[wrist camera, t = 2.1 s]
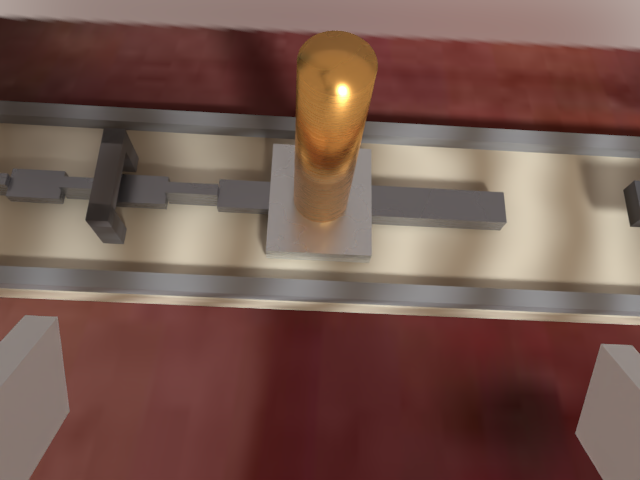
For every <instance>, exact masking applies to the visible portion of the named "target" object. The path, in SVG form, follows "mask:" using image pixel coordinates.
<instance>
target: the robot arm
mask: <svg viewBox="0 0 640 480" xmlns="http://www.w3.org/2000/svg"><path fill="white" fill-rule="evenodd" d="M68 413H69V404H68V396H67V388H66V380H65V372H64V364H63V356H62V348H61V340H60V332H59V324H58V317H49V316H28V315H25V316H24V317H23V318H22V319H21V320H20V321H19V322H18V323H17V324H16V326H15V327H14V328H13V329H12V330H11V331H10V332H9V333H8V334H7V335H6V336H5V337H4V339H3V340H2V341H1V342H0V480H29V478H30V476H31V475H32V473H33V471H34V470H35V468H36V466H37V465H38V463H39V461H40V460H41V458H42V456H43V455H44V453H45V451H46V450H47V448H48V446H49V445H50V443H51V441H52V440H53V438H54V436H55V435H56V433H57V431H58V430H59V428H60V426H61V425H62V423H63V421H64V420H65V418H66V416H67V415H68ZM575 434H576V436H577V437H578V439H579V441H580V442H581V444H582V446H583V447H584V449H585V451H586V452H587V454H588V456H589V457H590V459H591V461H592V462H593V464H594V465H595V467H596V469H597V470H598V472H599V474H600V475H601V477H602V479H603V480H640V354H639V353H638V351H637V350H636V349H635V348H634V347H633V346H632V345H614V344H601V346H600V350H599V353H598V357H597V360H596V363H595V367H594V370H593V374H592V377H591V381H590V384H589V388H588V391H587V395H586V398H585V401H584V405H583V408H582V412H581V415H580V419H579V422H578V426H577V429H576V433H575Z"/></svg>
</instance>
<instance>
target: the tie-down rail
mask: <svg viewBox="0 0 640 480" xmlns="http://www.w3.org/2000/svg"><path fill="white" fill-rule="evenodd" d="M295 123H296V117H282V116H264V115H246V114H229V113H211V112H193V111H176V110H158V109H140V108H123V107H105V106H87V105H70V104H52V103H34V102H17V101H0V173H8V174H9V175H10V177H11V174H12V170H13V168H14V169H33V170H52V171H65V172H66V173H67V174H68V176H69V177H86V178H94V179H93V184H92V189H91V194H90V199H89V200H83V199H67V197H66V196H65V199H64V203H63V204H51V203H31V202H11V201H10V200H9V199H8V198H7V197H6V196H4V195H0V297H11V298H34V299H57V300H80V301H102V302H125V303H148V304H171V305H194V306H217V307H239V308H262V309H285V310H308V311H331V312H354V313H376V314H399V315H422V316H445V317H468V318H490V319H513V320H536V321H559V322H582V323H605V324H627V325H640V137H635V136H617V135H600V134H582V133H564V132H547V131H529V130H511V129H494V128H476V127H458V126H441V125H423V124H405V123H388V122H370V121H366V122H365V127H364V131H363V136H362V140H361V145H360V148H361V149H371V185H375V186H394V187H414V188H433V189H452V190H471V191H490V192H504V200H505V210H506V220H507V223H506V224H505V225H504V226H503V227H502V229H501V230H500V231H498V230H478V229H458V228H438V227H418V226H398V225H378V224H372V257H371V259H370V262H369V263H358V262H336V261H315V260H294V259H273V258H266V240H267V226H268V214H251V213H231V212H218V209H217V206H202V205H182V204H169V202H168V205H167V209H151V208H131V207H116V203H117V198H118V192H119V187H120V181H121V176H122V174H129V175H148V176H167V177H169V179H170V181H171V182H182V183H202V184H218V186H219V182H220V179H224V180H244V181H263V182H271V170H272V156H273V144H288V145H295Z"/></svg>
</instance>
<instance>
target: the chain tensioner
mask: <svg viewBox="0 0 640 480" xmlns="http://www.w3.org/2000/svg"><path fill="white" fill-rule="evenodd" d="M377 67H378V63H377V58H376V55H375V52H374V51H373V49H372V48H371V46H370V45H369V44H368V43H367V42H366V41H364V40H363V39H362V38H360V37H358V36H356V35H354V34H351V33H348V32H344V31H327V32H322V33H319V34H317V35H315V36H313V37H311V38H310V39H308V40H307V41H306V42H305V43H304V44H303V46H302V47H301V49H300V51H299V53H298V57H297V84H296V123H295V145H288V144H273V156H272V170H271V182H263V181H244V180H224V179H220V182H219V186H218V184H202V183H182V182H171V181H170V179H169V177H167V176H148V175H129V174H122V176H121V181H120V187H119V192H118V198H117V203H116V207H131V208H151V209H167V205H168V202H169V204H182V205H202V206H217V209H218V212H231V213H251V214H268V226H267V240H266V258H273V259H294V260H315V261H336V262H358V263H369V262H370V259H371V257H372V224H378V225H398V226H418V227H438V228H458V229H478V230H498V231H500V230H501V229H502V227H503V226H504V225H505V224H506V223H507V220H506V210H505V200H504V192H490V191H471V190H452V189H433V188H414V187H394V186H375V185H371V149H361V148H360V145H361V140H362V136H363V131H364V127H365V122H366V118H367V113H368V109H369V104H370V100H371V96H372V91H373V87H374V82H375V78H376V73H377ZM93 179H94V178H86V177H69V176H68V174H67V173H66V172H65V171H52V170H33V169H14V168H13V170H12V174H11V177H10V175H9V174H8V173H0V195H4V196H6V197H7V198H8V199H9V200H10V201H11V202H31V203H51V204H63V203H64V199H65V196H66V197H67V199H83V200H89V199H90V194H91V189H92V184H93Z"/></svg>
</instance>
